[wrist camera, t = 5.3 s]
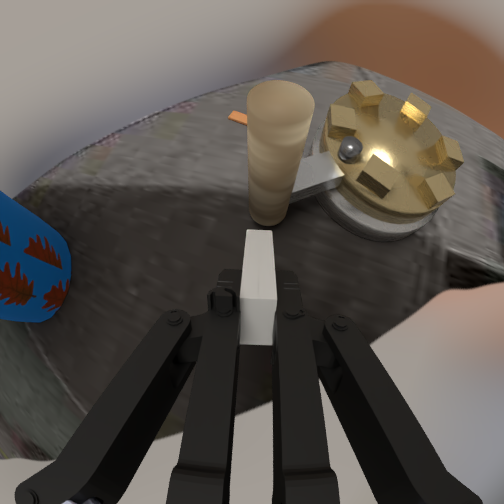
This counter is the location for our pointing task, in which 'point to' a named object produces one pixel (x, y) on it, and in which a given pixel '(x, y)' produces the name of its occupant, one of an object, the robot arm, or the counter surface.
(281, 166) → the studded brass turntable
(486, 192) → the counter surface
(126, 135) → the counter surface
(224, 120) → the counter surface
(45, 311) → the thermos
